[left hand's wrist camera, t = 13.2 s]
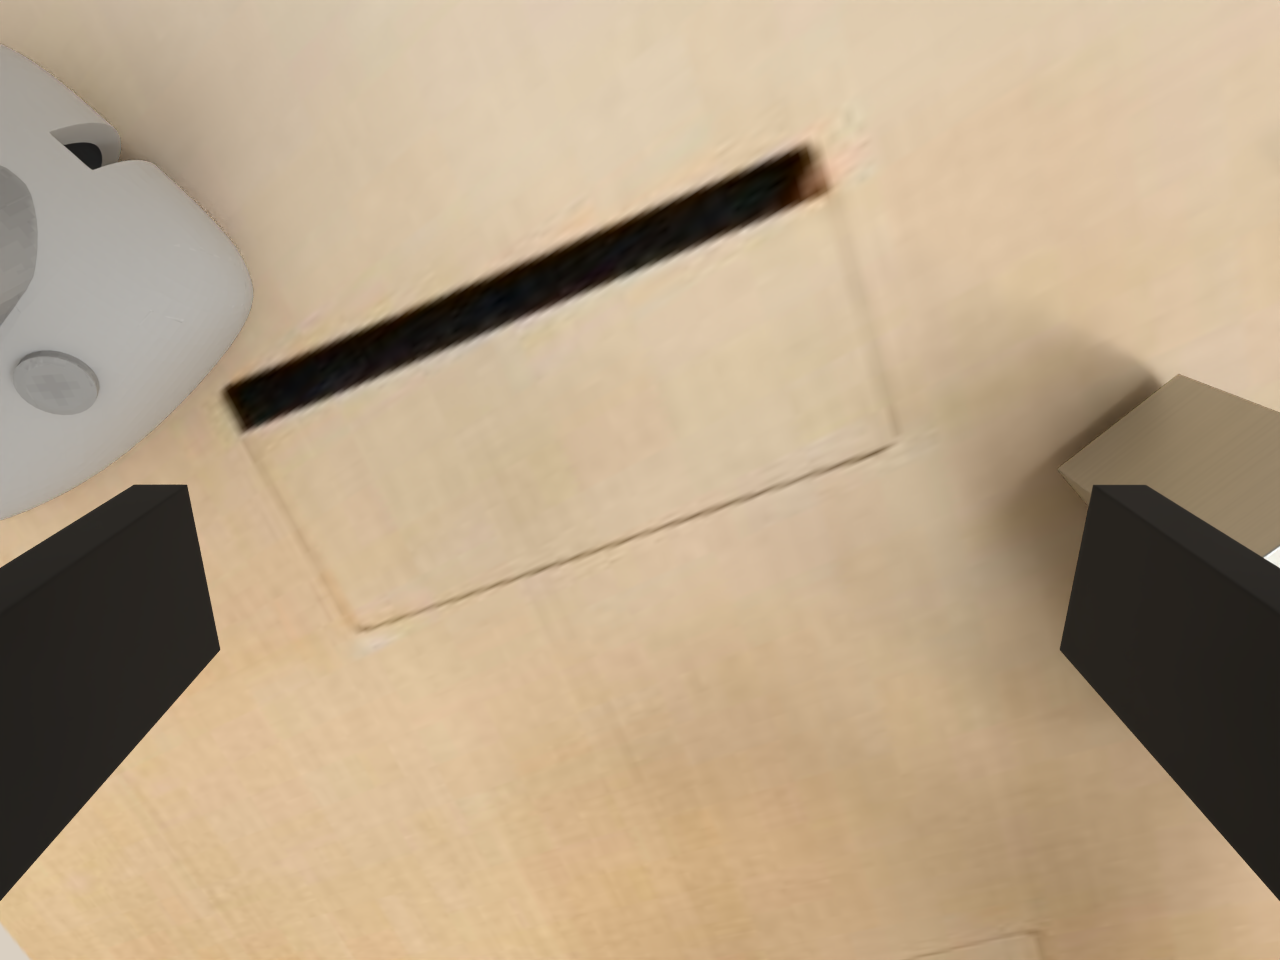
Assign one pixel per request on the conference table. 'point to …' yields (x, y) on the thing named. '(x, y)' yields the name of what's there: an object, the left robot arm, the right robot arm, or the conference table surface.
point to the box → (1195, 459)
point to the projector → (95, 291)
